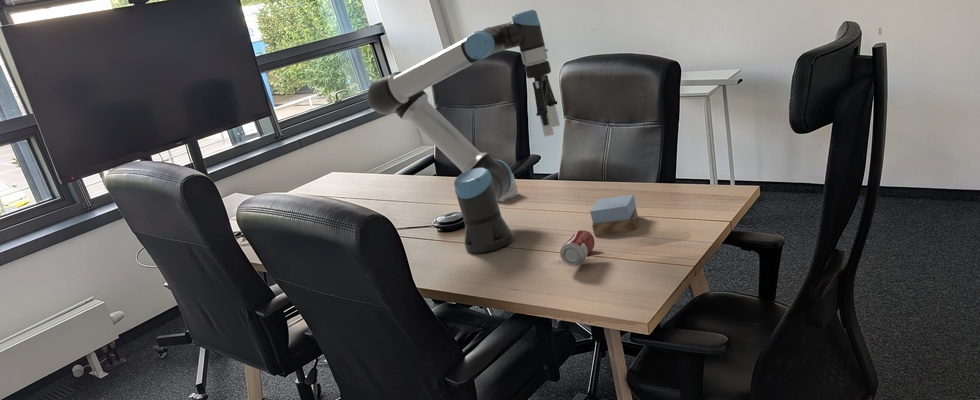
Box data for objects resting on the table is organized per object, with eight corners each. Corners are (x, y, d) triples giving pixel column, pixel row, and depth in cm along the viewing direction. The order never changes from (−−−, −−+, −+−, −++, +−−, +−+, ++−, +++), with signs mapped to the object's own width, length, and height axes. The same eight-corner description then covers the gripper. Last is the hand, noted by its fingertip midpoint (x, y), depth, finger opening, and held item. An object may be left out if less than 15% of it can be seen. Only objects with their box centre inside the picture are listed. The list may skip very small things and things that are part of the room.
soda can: (588, 261, 197) (600, 245, 208) (575, 240, 197) (588, 224, 207) (567, 271, 201) (580, 254, 211) (554, 249, 200) (568, 233, 210)
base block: (595, 238, 220) (592, 225, 219) (599, 224, 231) (596, 212, 230) (635, 231, 216) (632, 218, 215) (638, 218, 227) (635, 205, 226)
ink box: (506, 202, 285) (498, 173, 283) (521, 202, 279) (514, 173, 276) (490, 210, 280) (482, 180, 277) (505, 210, 274) (497, 180, 271)
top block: (593, 224, 220) (590, 211, 219) (600, 211, 230) (598, 199, 229) (629, 219, 215) (626, 206, 215) (636, 206, 225) (633, 194, 224)
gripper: (541, 65, 211) (558, 136, 216) (554, 55, 235) (569, 120, 240) (516, 71, 214) (534, 142, 219) (531, 60, 237) (547, 125, 242)
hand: (552, 130), depth 229 cm, fingers open, 13 cm apart
